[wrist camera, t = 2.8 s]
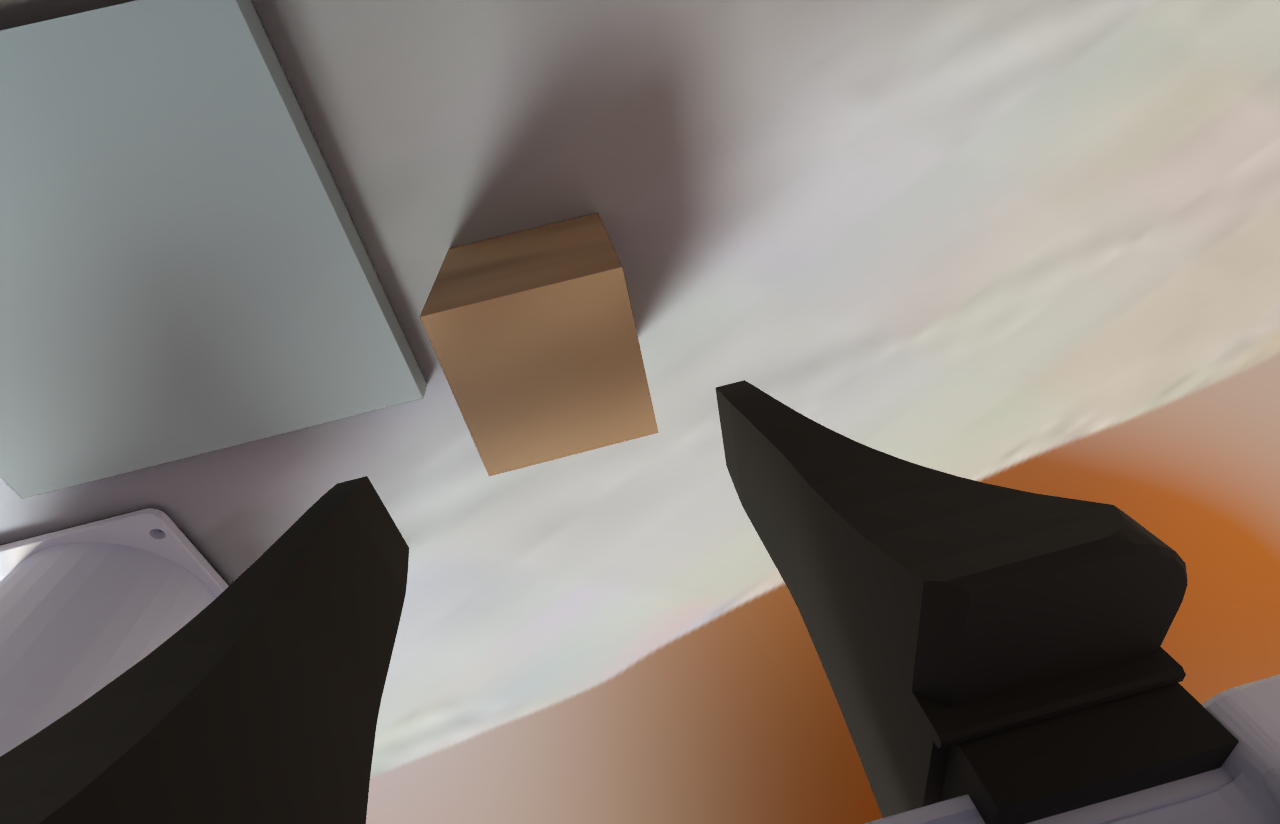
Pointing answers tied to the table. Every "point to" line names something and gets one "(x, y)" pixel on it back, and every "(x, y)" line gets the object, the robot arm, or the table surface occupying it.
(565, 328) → the walnut block
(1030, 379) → the table surface
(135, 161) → the board
